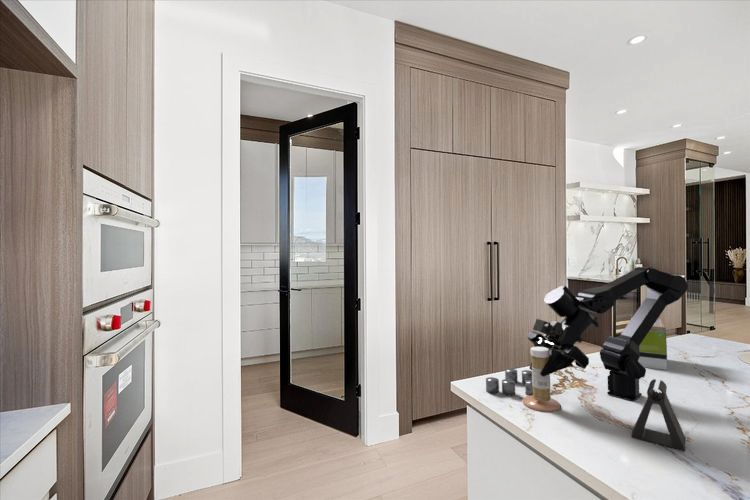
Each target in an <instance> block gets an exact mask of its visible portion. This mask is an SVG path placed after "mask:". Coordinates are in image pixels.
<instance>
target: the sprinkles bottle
mask: <svg viewBox="0 0 750 500" xmlns="http://www.w3.org/2000/svg"><path fill="white" fill-rule="evenodd" d="M530 355H531V356H530V357H531V362H532V370H531V371H532V385H533V398H534V399H536V400H538V401H549V400H551V398H552V397H551V374H549V375H546V376H544V377H543V376H541V375H540V373H541V371H542V369H543V368H544V366H545V365H546V363H547V362H548V360H549V356H550V355H551V353H550V351H549V349H548V348H545V347H534V346H532V347H531V348H530Z"/></svg>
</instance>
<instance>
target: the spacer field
mask: <svg viewBox="0 0 750 500" xmlns="http://www.w3.org/2000/svg"><path fill="white" fill-rule="evenodd" d="M504 374H505V375H504V379H502V380H501V394H502V395H503V396H507V397H514V396H516V384H518V379H519V378H518V370H517V369H515V368H505V369H504ZM521 384H522V385H524V387H525V388H524V390H525V392H524V393H525V395H526V396H531V395H533V385H532V370H530V369H529V370H528V369H526V370H525V369H524V370H521ZM485 390H486V391H485V392H486V393H487V394H492V395H494V394H495V395H496V394H499V393H500V381H499V378H497V377H494V376H493V377H491V376H490V377H489V376H488V377H486V378H485Z"/></svg>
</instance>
